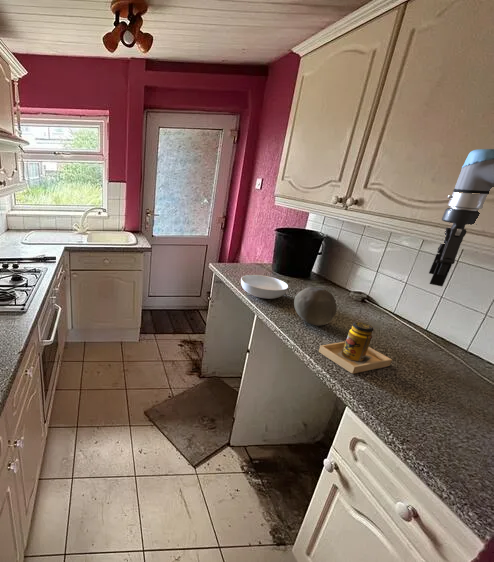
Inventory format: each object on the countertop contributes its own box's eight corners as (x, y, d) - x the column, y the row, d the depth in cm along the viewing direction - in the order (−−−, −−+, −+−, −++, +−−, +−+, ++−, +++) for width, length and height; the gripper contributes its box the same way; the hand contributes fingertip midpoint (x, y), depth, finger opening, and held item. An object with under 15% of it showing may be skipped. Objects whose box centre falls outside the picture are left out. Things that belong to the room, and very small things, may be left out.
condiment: (336, 354, 104) (346, 323, 100) (347, 347, 109) (358, 317, 104) (361, 366, 99) (373, 333, 94) (371, 358, 103) (384, 326, 99)
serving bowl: (294, 304, 142) (297, 290, 140) (248, 303, 142) (251, 289, 139) (272, 287, 162) (275, 274, 159) (232, 286, 161) (234, 273, 158)
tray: (353, 345, 111) (355, 339, 110) (389, 365, 100) (392, 359, 99) (318, 351, 107) (320, 345, 106) (352, 373, 96) (354, 367, 95)
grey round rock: (319, 316, 132) (329, 283, 126) (337, 333, 119) (349, 297, 113) (284, 313, 133) (293, 281, 127) (299, 330, 120) (309, 295, 114)
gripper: (444, 204, 98) (418, 267, 106) (449, 211, 81) (418, 286, 88) (478, 206, 93) (449, 273, 101) (491, 214, 76) (455, 294, 84)
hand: (435, 279), depth 95 cm, fingers open, 13 cm apart
